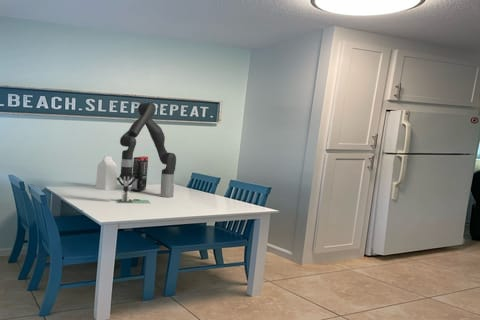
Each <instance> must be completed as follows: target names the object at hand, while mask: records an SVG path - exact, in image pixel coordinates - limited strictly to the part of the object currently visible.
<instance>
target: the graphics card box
mask: <svg viewBox="0 0 480 320" xmlns="http://www.w3.org/2000/svg"><path fill="white" fill-rule="evenodd" d="M148 163H149V156H135V157H134V156H133V169H132V175H133V177H134V178H135V179H136V180H135V181H134V182H133V183H132V184H131V190H130V191H131V192H141V191H145V190H147V181H148V180H147V178H148V168H149V167H148V166H149V165H148Z"/></svg>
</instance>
